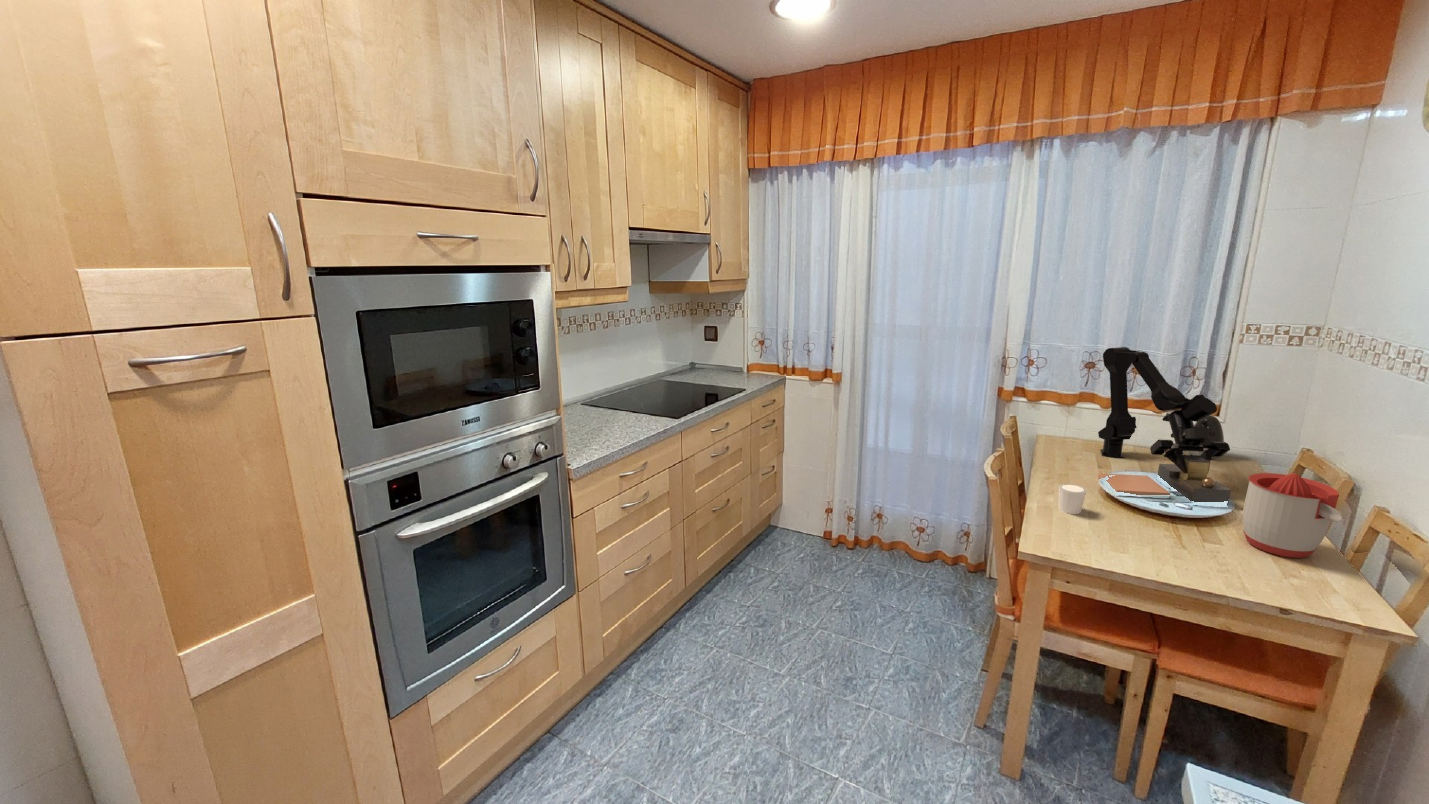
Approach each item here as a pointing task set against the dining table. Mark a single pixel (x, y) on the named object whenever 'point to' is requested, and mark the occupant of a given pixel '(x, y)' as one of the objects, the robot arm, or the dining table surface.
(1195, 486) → the body
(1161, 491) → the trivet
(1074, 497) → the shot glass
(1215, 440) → the dark grey egg shape
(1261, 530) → the citrus juicer
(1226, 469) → the dining table surface
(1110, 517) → the dining table surface
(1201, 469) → the tan wooden block
